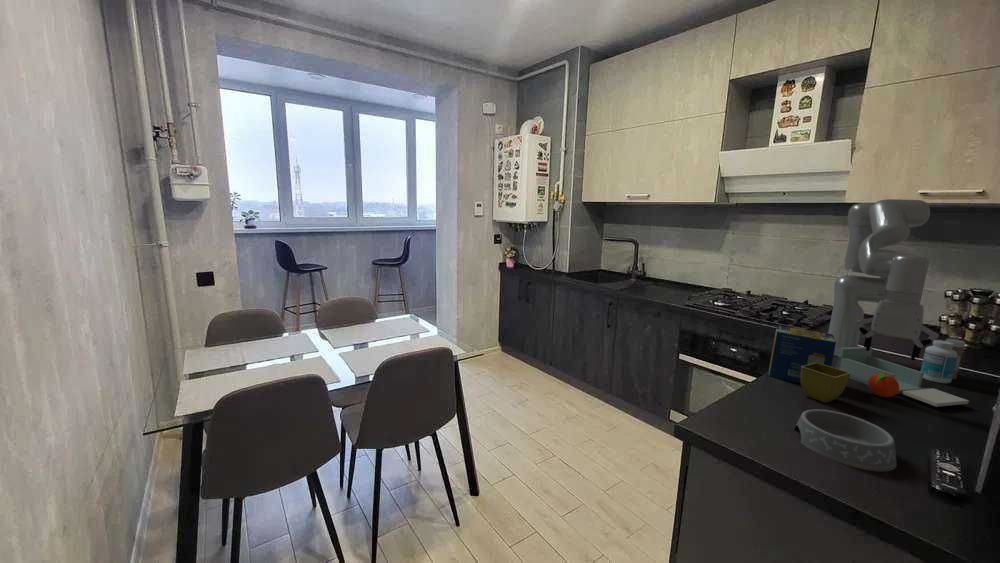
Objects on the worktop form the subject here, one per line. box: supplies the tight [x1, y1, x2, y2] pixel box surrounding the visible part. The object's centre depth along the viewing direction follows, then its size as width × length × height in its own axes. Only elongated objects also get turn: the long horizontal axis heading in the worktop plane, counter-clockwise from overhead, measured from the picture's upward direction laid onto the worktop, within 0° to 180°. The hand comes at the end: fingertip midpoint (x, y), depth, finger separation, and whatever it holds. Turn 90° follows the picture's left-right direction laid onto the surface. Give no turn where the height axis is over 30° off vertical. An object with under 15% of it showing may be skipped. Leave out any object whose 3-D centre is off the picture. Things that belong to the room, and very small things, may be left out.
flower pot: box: [800, 363, 850, 404], centre depth 116 cm, size 9×9×9 cm
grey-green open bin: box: [835, 346, 924, 395], centre depth 131 cm, size 17×13×9 cm
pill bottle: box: [920, 339, 958, 384], centre depth 136 cm, size 8×7×14 cm
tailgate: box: [898, 387, 970, 408], centre depth 118 cm, size 1×13×9 cm
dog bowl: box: [793, 408, 897, 472], centre depth 91 cm, size 17×18×5 cm
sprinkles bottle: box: [944, 338, 966, 380], centre depth 139 cm, size 5×5×13 cm
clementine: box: [867, 373, 899, 398], centre depth 120 cm, size 8×7×7 cm
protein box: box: [768, 324, 836, 384], centre depth 131 cm, size 10×15×16 cm
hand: (889, 354), depth 118 cm, fingers open, 9 cm apart
